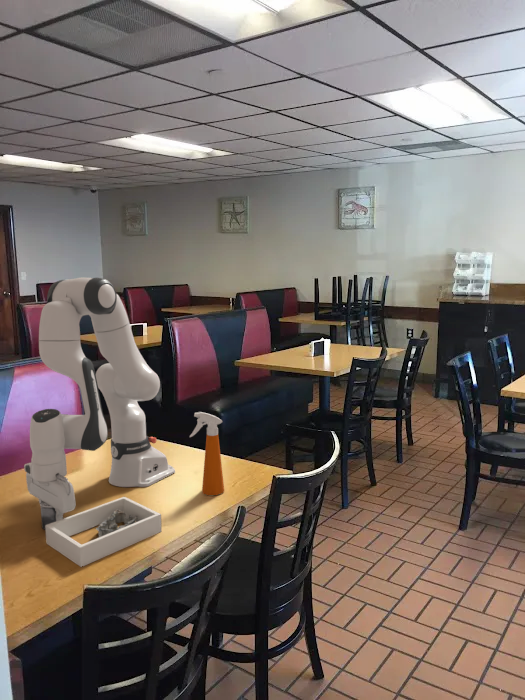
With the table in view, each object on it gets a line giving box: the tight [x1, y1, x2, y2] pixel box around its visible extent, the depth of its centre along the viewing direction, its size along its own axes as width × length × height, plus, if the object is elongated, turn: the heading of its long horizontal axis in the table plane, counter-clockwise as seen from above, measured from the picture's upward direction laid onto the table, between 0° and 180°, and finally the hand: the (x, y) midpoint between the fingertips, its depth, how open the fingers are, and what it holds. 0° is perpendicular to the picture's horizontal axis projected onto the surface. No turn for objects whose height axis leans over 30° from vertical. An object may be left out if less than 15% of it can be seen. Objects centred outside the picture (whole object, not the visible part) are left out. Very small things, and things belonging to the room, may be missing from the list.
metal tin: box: [39, 501, 56, 531], centre depth 155 cm, size 6×6×7 cm
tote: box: [45, 496, 162, 568], centre depth 148 cm, size 24×17×5 cm
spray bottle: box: [189, 411, 225, 496], centre depth 175 cm, size 7×11×26 cm, turn 110°
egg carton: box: [94, 509, 137, 538], centre depth 152 cm, size 11×8×4 cm
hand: (52, 517), depth 155 cm, fingers closed on metal tin, 6 cm apart
